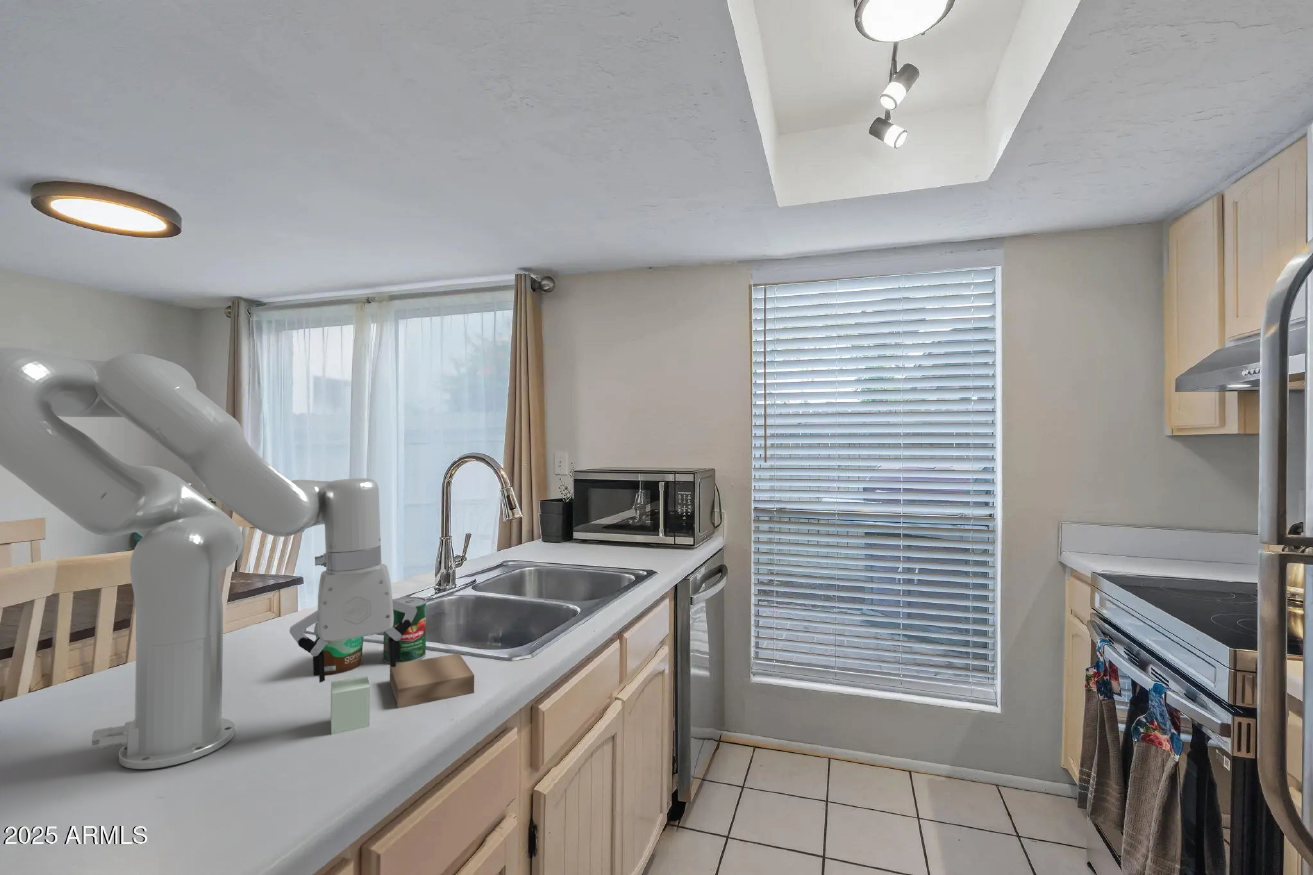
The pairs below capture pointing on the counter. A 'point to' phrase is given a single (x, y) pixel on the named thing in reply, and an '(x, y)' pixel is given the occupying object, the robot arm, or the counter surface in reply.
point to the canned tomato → (410, 633)
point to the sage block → (350, 704)
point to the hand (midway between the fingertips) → (358, 671)
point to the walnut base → (430, 680)
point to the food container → (341, 654)
